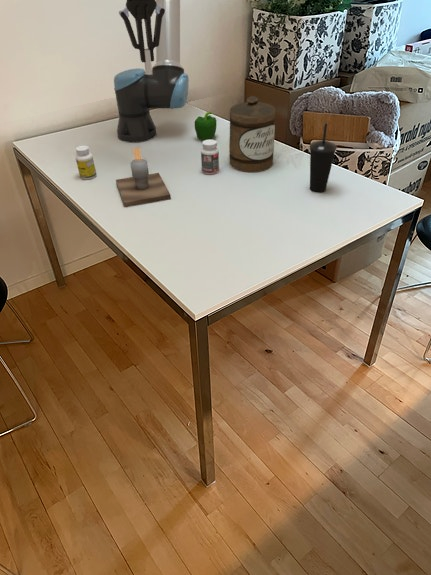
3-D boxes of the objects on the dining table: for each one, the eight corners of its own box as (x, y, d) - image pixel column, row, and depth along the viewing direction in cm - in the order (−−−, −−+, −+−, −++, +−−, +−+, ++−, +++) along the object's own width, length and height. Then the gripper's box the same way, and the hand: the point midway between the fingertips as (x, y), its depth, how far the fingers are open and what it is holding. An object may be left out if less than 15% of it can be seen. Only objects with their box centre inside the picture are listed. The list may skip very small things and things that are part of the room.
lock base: (116, 183, 146) (113, 168, 142) (159, 176, 149) (157, 161, 146) (124, 207, 134) (121, 190, 131) (170, 199, 137) (169, 182, 134)
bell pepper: (197, 144, 169) (196, 117, 163) (193, 136, 175) (191, 110, 169) (219, 142, 170) (219, 115, 164) (214, 134, 177) (213, 107, 170)
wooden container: (246, 176, 148) (247, 107, 134) (221, 161, 157) (219, 95, 143) (281, 165, 154) (286, 97, 140) (255, 150, 163) (257, 86, 149)
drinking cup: (314, 181, 144) (322, 117, 131) (335, 188, 139) (345, 123, 127) (300, 189, 140) (306, 124, 127) (320, 197, 135) (329, 131, 123)
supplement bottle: (76, 176, 151) (70, 148, 144) (90, 171, 154) (84, 143, 147) (86, 181, 148) (79, 152, 141) (100, 175, 151) (94, 147, 144)
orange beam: (149, 177, 136) (147, 164, 134) (132, 179, 136) (130, 166, 133) (145, 159, 147) (144, 147, 144) (130, 161, 146) (128, 149, 143)
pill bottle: (217, 175, 149) (216, 146, 142) (200, 174, 150) (198, 145, 143) (220, 168, 153) (219, 139, 147) (204, 167, 154) (202, 138, 148)
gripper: (117, -18, 118) (130, 79, 133) (165, -21, 121) (173, 73, 136) (112, -20, 123) (125, 73, 138) (158, -24, 127) (166, 68, 142)
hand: (148, 73), depth 137 cm, fingers closed
